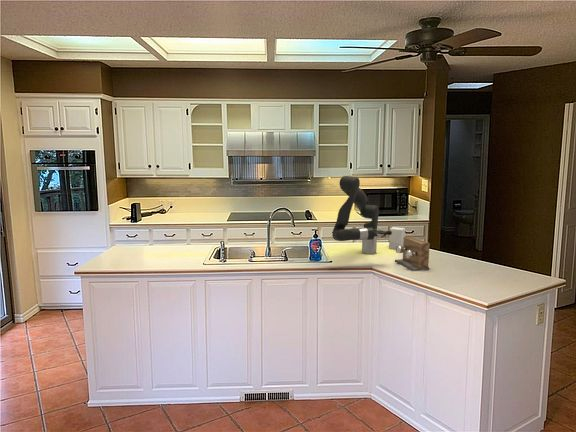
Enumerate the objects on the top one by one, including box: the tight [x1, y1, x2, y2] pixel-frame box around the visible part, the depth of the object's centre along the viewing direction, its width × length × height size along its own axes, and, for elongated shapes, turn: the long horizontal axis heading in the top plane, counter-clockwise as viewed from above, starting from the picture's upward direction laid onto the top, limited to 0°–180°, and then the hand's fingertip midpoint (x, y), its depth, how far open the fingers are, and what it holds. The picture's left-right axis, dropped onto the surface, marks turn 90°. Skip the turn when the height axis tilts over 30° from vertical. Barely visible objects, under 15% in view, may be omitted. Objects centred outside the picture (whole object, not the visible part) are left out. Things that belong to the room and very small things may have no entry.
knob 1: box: [395, 246, 407, 254], centre depth 271 cm, size 8×4×4 cm, turn 104°
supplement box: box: [388, 226, 406, 251], centre depth 312 cm, size 9×9×15 cm
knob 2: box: [405, 250, 417, 258], centre depth 260 cm, size 8×4×4 cm, turn 104°
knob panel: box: [394, 236, 431, 272], centre depth 266 cm, size 11×22×16 cm, turn 14°
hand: (391, 232), depth 268 cm, fingers closed
